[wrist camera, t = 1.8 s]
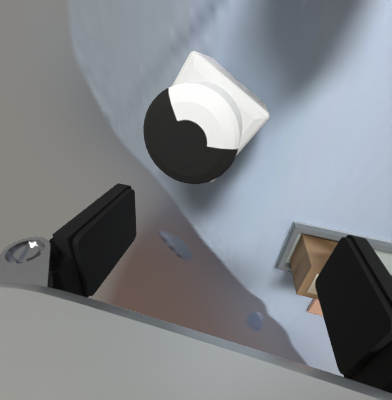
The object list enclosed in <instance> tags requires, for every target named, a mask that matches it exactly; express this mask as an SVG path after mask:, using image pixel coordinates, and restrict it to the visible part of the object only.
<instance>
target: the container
mask: <svg viewBox="0 0 392 400" xmlns="http://www.w3.org/2000/svg"><path fill="white" fill-rule="evenodd" d="M268 119H269V113H268V110H267V108H266V105H265V103H264V102H263V101H261V100H260V99H259V98H258V97H257V96H256V95H255V94H253V93H252V92H251V91H250V90H249V89H248V88H246V87H245V86H244V85H243V84H242V83H241V82H239V81H238V80H237V79H236V78H235V77H234V76H233V75H231V74H230V73H229V72H228V71H227V70H226V69H224V68H223V67H222V66H221V65H220V64H219V63H218V62H216V61H215V60H214V59H213V58H211V57H208V56H206V55H204V54H201V53H199V52H196V51H192V52H191V53H190V55H189V56H188V58H187V60H186V62H185V64H184V65H183V67H182V69H181V71H180V73H179V74H178V76H177V78H176V80H175V82H174V84H173V85H172V87H169V88H167V89H166V90H164V91H162V92H161V93H160V94H159V95H158V96H157V97H156V98H155V99H154V100H153V101H152V103H151V105H150V106H149V108H148V111H147V113H146V116H145V120H144V140H145V144H146V148H147V150H148V153H149V155H150V157H151V158H152V160H153V161H154V163H155V164H156V165H157V166H158V168H159V169H160V170H162V171H163V172H164V173H165V174H167V175H168V176H169V177H171V178H173V179H175V180H178V181H180V182H184V183H190V184H200V183H206V182H209V181H210V182H213V181H214V180H215V179H216V178H218V177H219V176H221V175H222V174H223V173H224V172H225V171H226V170H227V169H228V168H229V167H230V166H231V164H232V163H233V161H234V159H235V157H236V156H237V155H238V153H239V152H240V151H241V150H242V149H243V148H244V147H245V145H246V144H247V143H248V142H249V141H250V140H251V139H252V138H253V136H254V135H255V134H256V133H257V132H258V131H259V130H260V129H261V127H262V126H263V125H264V124H265V123H266V122H267V121H268Z"/></svg>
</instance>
